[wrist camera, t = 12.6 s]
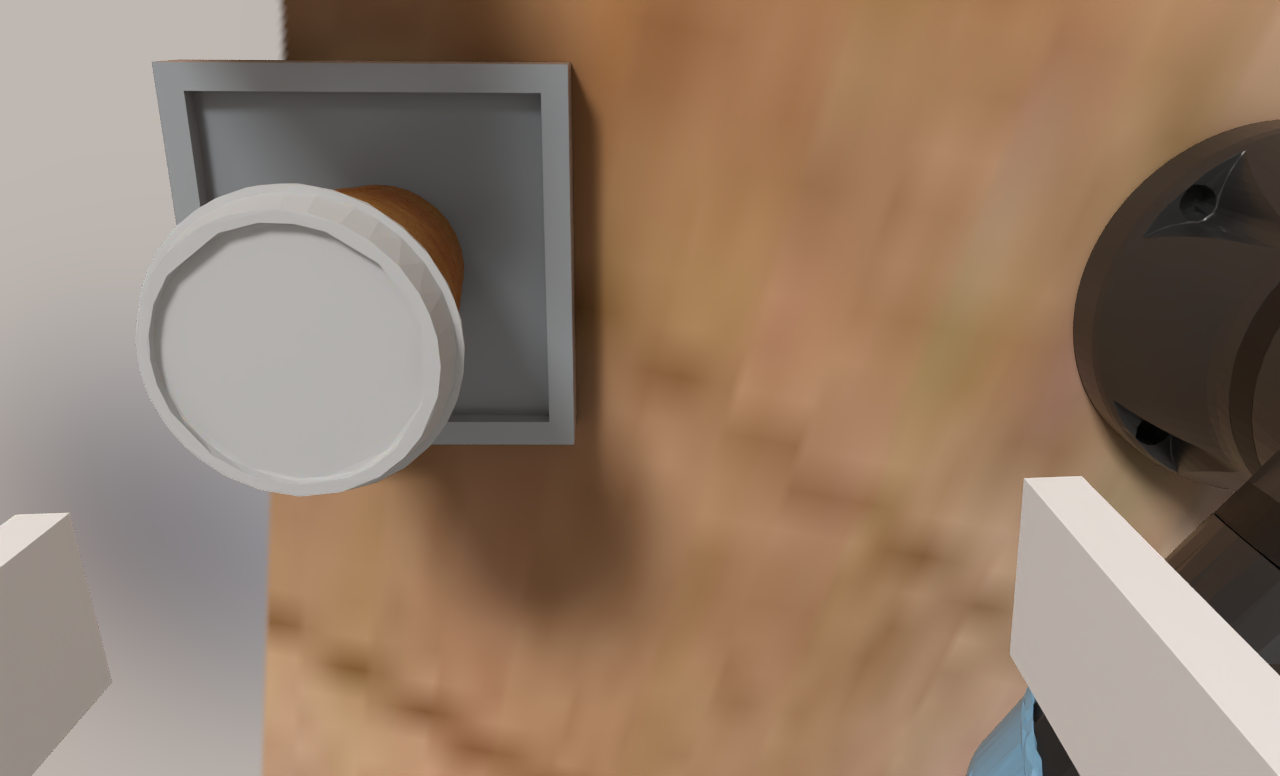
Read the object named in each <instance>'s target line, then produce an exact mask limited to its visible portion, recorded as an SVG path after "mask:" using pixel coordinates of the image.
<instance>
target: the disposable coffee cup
mask: <svg viewBox="0 0 1280 776" xmlns="http://www.w3.org/2000/svg"><path fill="white" fill-rule="evenodd" d="M463 278H464V261H463V255H462V249H461V246H460V243H459V241H458V238H457V235H456V233H455V232H454V230H453V228H452V227H451V225H450V223H449V222H448V220H447V219H446V218H445V217H444V216H443V215H442V214H441V212H440V211H439V210H438V209H437V208H436V207H434V206H433V205H432V204H430V203H429V202H428V201H426V200H425V199H423V198H422V197H421V196H419V195H417V194H415V193H413V192H411V191H409V190H405V189H402V188H398V187H395V186H387V185H366V186H360V187H353V188H342V189H334V190H332V189H326V188H321V187H316V186H310V185H305V184H299V183H289V184H268V185H257V186H252V187H246V188H243V189H240V190H238V191H235V192H232V193H229V194H226V195H223V196H220V197H218V198H215V199H214V200H212V201H210V202H208V203H207V204H205V205H203V206H201V207H200V208H198V209H196V210H195V211H194V212H192V213H191V214H190V215H189V216H188V217H186V218H185V219H184V220H183V221H182V222H181V223H179V224H178V225H177V226H176V227H175V228H174V229H173V230H172V232H171V233H170V234H169V235H168V237H167V238H166V239H165V240H164V242H163V243H162V244H161V246H160V247H159V249H158V251H157V253H156V254H155V256H154V258H153V260H152V261H151V263H150V265H149V268H148V271H147V273H146V276H145V279H144V283H143V285H142V290H141V294H140V299H139V310H138V316H137V323H136V343H135V346H136V352H137V358H138V364H139V370H140V373H141V376H142V379H143V382H144V385H145V388H146V391H147V393H148V396H149V398H150V400H151V401H152V403H153V405H154V406H155V408H156V410H157V411H158V413H159V414H160V416H161V418H162V419H163V421H164V423H165V424H166V426H167V427H168V428H169V429H170V431H171V432H172V433H173V434H174V435H175V436H176V437H177V439H178V440H179V441H180V442H181V443H182V444H183V445H184V446H185V447H186V448H187V449H188V450H189V451H191V452H192V453H193V454H194V455H195V456H196V457H198V458H199V459H200V460H201V461H203V462H204V463H206V464H208V465H209V466H210V467H212V468H214V469H215V470H217V471H218V472H220V473H221V474H223V475H224V476H226V477H229V478H232V479H234V480H236V481H239V482H242V483H244V484H246V485H249V486H251V487H254V488H256V489H259V490H263V491H264V490H265V491H269V492H276V493H282V494H288V495H294V496H308V495H318V494H328V493H339V492H343V491H347V490H350V489H354V488H358V487H361V486H365V485H368V484H372V483H376V482H378V481H380V480H382V479H384V478H386V477H388V476H390V475H392V474H394V473H396V472H398V471H400V470H402V469H404V468H405V467H407V466H408V465H409V464H410V463H411V462H412V461H414V460H415V459H416V458H417V457H418V456H419V455H420V454H422V453H423V452H424V451H425V450H426V449H427V448H428V447H430V445H431V444H432V443H433V441H434V440H435V439H436V437H437V436H438V435H439V433H440V432H441V430H442V429H443V428H444V426H445V425H446V424H447V422H448V420H449V417H450V415H451V413H452V411H453V409H454V407H455V404H456V402H457V399H458V396H459V391H460V387H461V382H462V378H463V373H464V352H465V345H464V336H463V328H462V319H461V317H460V314H459V309H460V302H461V293H462V284H463Z"/></svg>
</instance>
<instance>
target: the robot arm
mask: <svg viewBox="0 0 1280 776" xmlns="http://www.w3.org/2000/svg"><path fill="white" fill-rule="evenodd" d="M1073 338H1074V350H1075V357H1076V362H1077V367H1078V370H1079V373H1080V377H1081V380H1082V382H1083V385H1084V387H1085V390H1086V392H1087V394H1088V396H1089V398H1090V400H1091V401H1092V403H1093V405H1094V406H1095V408H1096V409H1097V411H1098V412H1099V413H1100V415H1101V416H1102V418H1103V419H1104V420H1105V421H1106V422H1107V423H1108V424H1109V425H1110V427H1111V428H1113V429H1114V430H1115V431H1116V432H1117V433H1118V434H1119V435H1120V436H1121V437H1123V438H1124V439H1125V440H1126V441H1127V442H1129V443H1130V444H1131V445H1132V446H1133V447H1135V448H1136V449H1137V450H1138V451H1140V452H1141V453H1142V454H1143V455H1145V456H1146V457H1147V458H1149V459H1150V460H1152V461H1153V462H1155V463H1156V464H1158V465H1160V466H1162V467H1163V468H1165V469H1167V470H1169V471H1171V472H1173V473H1175V474H1178V475H1180V476H1182V477H1185V478H1187V479H1190V480H1193V481H1196V482H1200V483H1204V484H1207V485H1212V486H1216V487H1221V488H1225V489H1229V490H1234V491H1236V492H1235V493H1234V494H1233V495H1232V496H1231V497H1230V498H1229V499H1228V500H1227V501H1226V502H1225V503H1224V504H1223V505H1222V506H1221V507H1220V508H1219V509H1218V510H1217V511H1215V512H1214V513H1215V514H1214V513H1212V514H1211V515H1210V516H1209V517H1208V518H1207V519H1206V520H1205V521H1204V522H1203V523H1202V524H1201V525H1200V526H1199V527H1198V528H1197V529H1196V530H1195V531H1193V532H1192V533H1191V534H1190V535H1189V536H1188V537H1187V538H1186V539H1185V540H1184V541H1183V542H1182V543H1181V544H1180V545H1179V546H1178V547H1177V548H1176V549H1175V550H1174V551H1173V552H1172V553H1171V554H1170V555H1169V556H1168V557H1167V558H1166V559H1165V560H1164V559H1163V558H1162V557H1161V556H1160V555H1159V554H1158V553H1157V552H1156V551H1155V550H1154V549H1153V548H1152V547H1151V546H1150V545H1149V544H1148V543H1147V542H1146V541H1145V540H1144V539H1143V538H1142V537H1141V536H1140V535H1139V534H1138V532H1137V531H1136V530H1135V529H1134V528H1133V527H1132V526H1131V525H1130V524H1129V523H1128V522H1127V521H1126V520H1125V519H1124V518H1123V517H1122V516H1121V515H1120V514H1119V513H1118V512H1117V511H1116V510H1115V509H1114V508H1113V507H1112V506H1111V505H1110V504H1109V503H1108V502H1107V501H1106V500H1105V499H1104V498H1103V497H1102V496H1101V495H1100V494H1099V493H1098V492H1097V491H1096V490H1095V489H1094V488H1093V487H1092V486H1091V485H1090V484H1089V483H1088V482H1087V481H1086V480H1085V479H1084V478H1083V477H1082V476H1072V477H1044V478H1024V485H1023V498H1022V510H1021V522H1020V535H1019V547H1018V559H1017V571H1016V584H1015V596H1014V608H1013V621H1012V633H1011V645H1010V656H1011V657H1012V659H1013V661H1014V663H1015V664H1016V666H1017V668H1018V669H1019V671H1020V673H1021V675H1022V676H1023V678H1024V680H1025V682H1026V683H1027V685H1028V688H1027V690H1026V693H1025V695H1024V697H1023V698H1022V699H1021V700H1020V701H1019V702H1018V703H1017V704H1016V705H1015V707H1014V708H1013V709H1012V710H1011V711H1010V712H1009V713H1008V714H1007V715H1006V717H1005V718H1004V719H1003V720H1002V721H1001V722H1000V723H999V724H998V725H997V727H996V728H995V729H994V730H993V731H992V732H991V733H990V734H989V735H988V736H987V737H986V738H985V740H984V741H983V742H982V743H981V744H980V745H979V747H978V748H977V750H976V751H975V753H974V755H973V757H972V759H971V762H970V764H969V767H968V770H967V775H966V776H1280V120H1272V121H1265V122H1259V123H1254V124H1249V125H1245V126H1242V127H1238V128H1235V129H1232V130H1229V131H1226V132H1223V133H1220V134H1218V135H1215V136H1213V137H1211V138H1208V139H1206V140H1204V141H1202V142H1200V143H1198V144H1196V145H1194V146H1192V147H1191V148H1189V149H1187V150H1185V151H1184V152H1182V153H1180V154H1179V155H1177V156H1176V157H1174V158H1173V159H1171V160H1170V161H1168V162H1167V163H1166V164H1164V165H1163V166H1162V167H1160V168H1159V169H1158V170H1156V171H1155V172H1154V173H1153V174H1152V175H1151V176H1149V177H1148V178H1147V179H1146V180H1145V181H1144V182H1143V183H1142V184H1141V185H1140V186H1139V187H1138V188H1137V189H1136V190H1135V191H1134V192H1133V193H1132V194H1131V195H1130V196H1129V197H1128V198H1127V199H1126V200H1125V202H1124V203H1123V204H1122V205H1121V207H1120V208H1119V209H1118V210H1117V212H1116V213H1115V214H1114V216H1113V217H1112V218H1111V220H1110V221H1109V223H1108V224H1107V226H1106V227H1105V229H1104V230H1103V232H1102V234H1101V235H1100V237H1099V239H1098V241H1097V243H1096V245H1095V246H1094V248H1093V250H1092V252H1091V255H1090V257H1089V259H1088V262H1087V264H1086V267H1085V269H1084V272H1083V275H1082V278H1081V282H1080V285H1079V289H1078V293H1077V298H1076V303H1075V311H1074V323H1073ZM111 682H112V679H111V676H110V671H109V668H108V664H107V660H106V656H105V652H104V648H103V644H102V640H101V636H100V632H99V628H98V624H97V620H96V616H95V612H94V608H93V604H92V600H91V596H90V592H89V588H88V584H87V580H86V576H85V572H84V569H83V564H82V560H81V556H80V553H79V548H78V544H77V540H76V536H75V532H74V529H73V524H72V520H71V516H70V513H51V514H23V515H15V516H13V517H12V518H10V519H9V520H8V521H6V522H5V523H4V524H2V525H1V526H0V776H32V774H33V773H34V772H35V771H36V770H37V769H38V767H39V766H40V765H41V764H42V763H43V762H44V761H45V759H46V758H47V757H48V756H49V755H50V753H51V752H52V751H53V750H54V749H55V748H56V747H57V745H58V744H59V743H60V742H61V741H62V740H63V739H64V737H65V736H66V735H67V734H68V733H69V732H70V730H71V729H72V728H73V727H74V726H75V725H76V723H77V722H78V721H79V720H80V719H81V718H82V716H83V715H84V714H85V713H86V712H87V711H88V710H89V708H90V707H91V706H92V705H93V704H94V703H95V701H96V700H97V699H98V698H99V697H100V696H101V694H102V693H103V692H104V691H105V690H106V689H107V688H108V686H109V685H110V684H111Z"/></svg>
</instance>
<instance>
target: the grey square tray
mask: <svg viewBox="0 0 1280 776" xmlns="http://www.w3.org/2000/svg"><path fill="white" fill-rule="evenodd" d="M152 67H153V73H154V80H155V87H156V93H157V99H158V106H159V113H160V120H161V126H162V132H163V139H164V146H165V152H166V159H167V166H168V172H169V179H170V185H171V192H172V199H173V205H174V212H175V218H176V225H178V224H179V223H181V222H182V221H183V220H184V219H185V218H186V217H188V216H189V215H190V214H191V213H192V212H194V211H195V210H196V209H198V208H200V207H201V206H203V205H205V204H207V203H208V202H210V201H212V200H214V199H215V198H218V197H220V196H223V195H226V194H229V193H232V192H235V191H238V190H240V189H243V188H246V187H252V186H257V185H268V184H289V183H299V184H305V185H310V186H316V187H321V188H326V189H332V190H334V189H342V188H353V187H360V186H366V185H387V186H395V187H398V188H402V189H405V190H409V191H411V192H413V193H415V194H417V195H419V196H421V197H422V198H423V199H425V200H426V201H428V202H429V203H430V204H432V205H433V206H434V207H436V208H437V209H438V210H439V211H440V212H441V214H442V215H443V216H444V217H445V218H446V219H447V220H448V222H449V223H450V225H451V227H452V228H453V230H454V232H455V233H456V235H457V238H458V241H459V243H460V246H461V249H462V255H463V261H464V278H463V284H462V293H461V302H460V309H459V314H460V317H461V319H462V328H463V336H464V345H465V352H464V373H463V378H462V382H461V387H460V391H459V396H458V399H457V402H456V404H455V407H454V409H453V411H452V413H451V415H450V417H449V420H448V422H447V424H446V425H445V426H444V428H443V429H442V430H441V432H440V433H439V435H438V436H437V437H436V439H435V440H434V441H433V443H432V444H431V445H574V442H575V433H576V425H577V415H576V352H575V290H574V228H573V165H572V103H571V62H457V61H303V60H168V61H156V62H152Z"/></svg>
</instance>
